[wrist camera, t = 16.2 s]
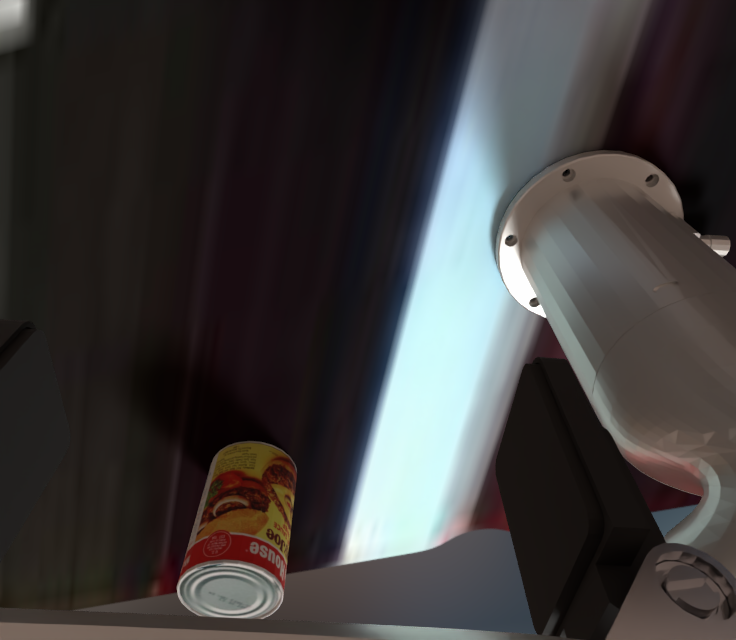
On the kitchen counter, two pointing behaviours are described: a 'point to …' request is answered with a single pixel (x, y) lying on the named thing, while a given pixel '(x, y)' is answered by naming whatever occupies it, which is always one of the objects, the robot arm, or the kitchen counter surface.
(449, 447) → the kitchen counter surface
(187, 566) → the canned food
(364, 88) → the kitchen counter surface
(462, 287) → the kitchen counter surface
